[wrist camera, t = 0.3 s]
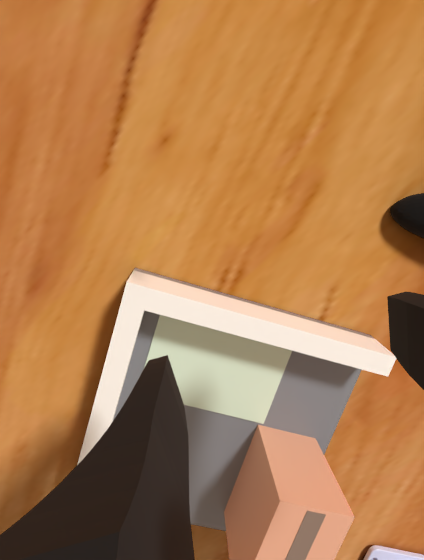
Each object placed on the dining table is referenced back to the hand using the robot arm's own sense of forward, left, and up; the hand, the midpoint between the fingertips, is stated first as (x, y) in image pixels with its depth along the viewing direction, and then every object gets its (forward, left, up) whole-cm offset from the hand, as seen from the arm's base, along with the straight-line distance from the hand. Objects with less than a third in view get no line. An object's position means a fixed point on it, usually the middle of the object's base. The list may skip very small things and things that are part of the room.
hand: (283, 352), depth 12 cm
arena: (-9, -2, -11) cm, 14 cm away
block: (-12, -6, -10) cm, 17 cm away
